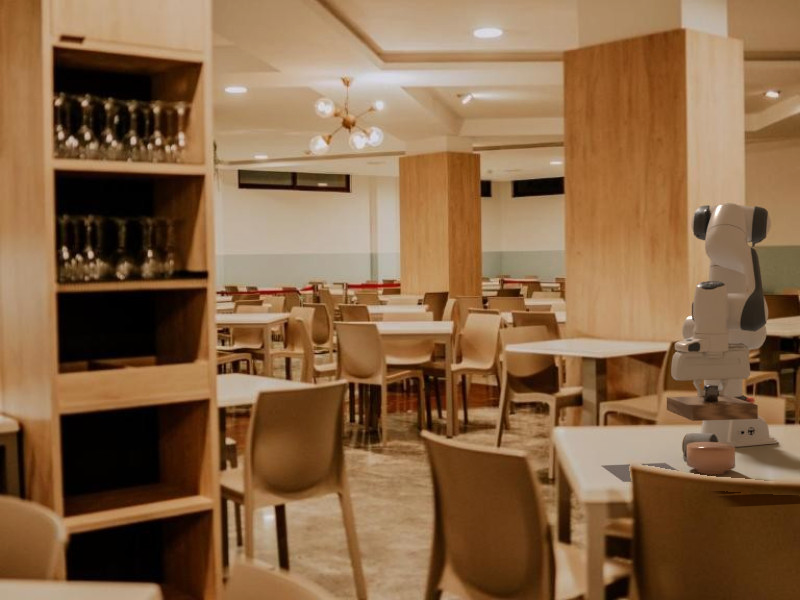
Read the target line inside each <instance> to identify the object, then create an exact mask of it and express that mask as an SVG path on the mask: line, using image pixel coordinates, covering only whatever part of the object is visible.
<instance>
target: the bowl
mask: <svg viewBox="0 0 800 600" xmlns="http://www.w3.org/2000/svg"><path fill="white" fill-rule="evenodd" d="M686 458H687V462H686V465H687V466H688V467H689V468H691V469H692V468H693V469H696V472H698V473H700V474H705V475H722V474H725V473H726V471H729V470H730V471H731V470H733V469H736V447H734V446H733V445H730V444H725V443H718V442H694V443H689V444H687V457H686Z"/></svg>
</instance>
